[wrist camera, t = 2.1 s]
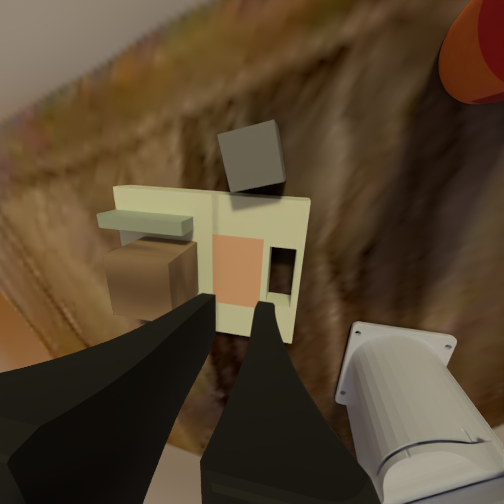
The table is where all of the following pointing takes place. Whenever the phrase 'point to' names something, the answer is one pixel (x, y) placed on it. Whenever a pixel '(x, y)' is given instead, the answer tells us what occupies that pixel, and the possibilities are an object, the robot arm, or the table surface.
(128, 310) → the walnut block
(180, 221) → the board
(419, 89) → the table surface
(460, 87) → the paper cup
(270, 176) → the charcoal block
